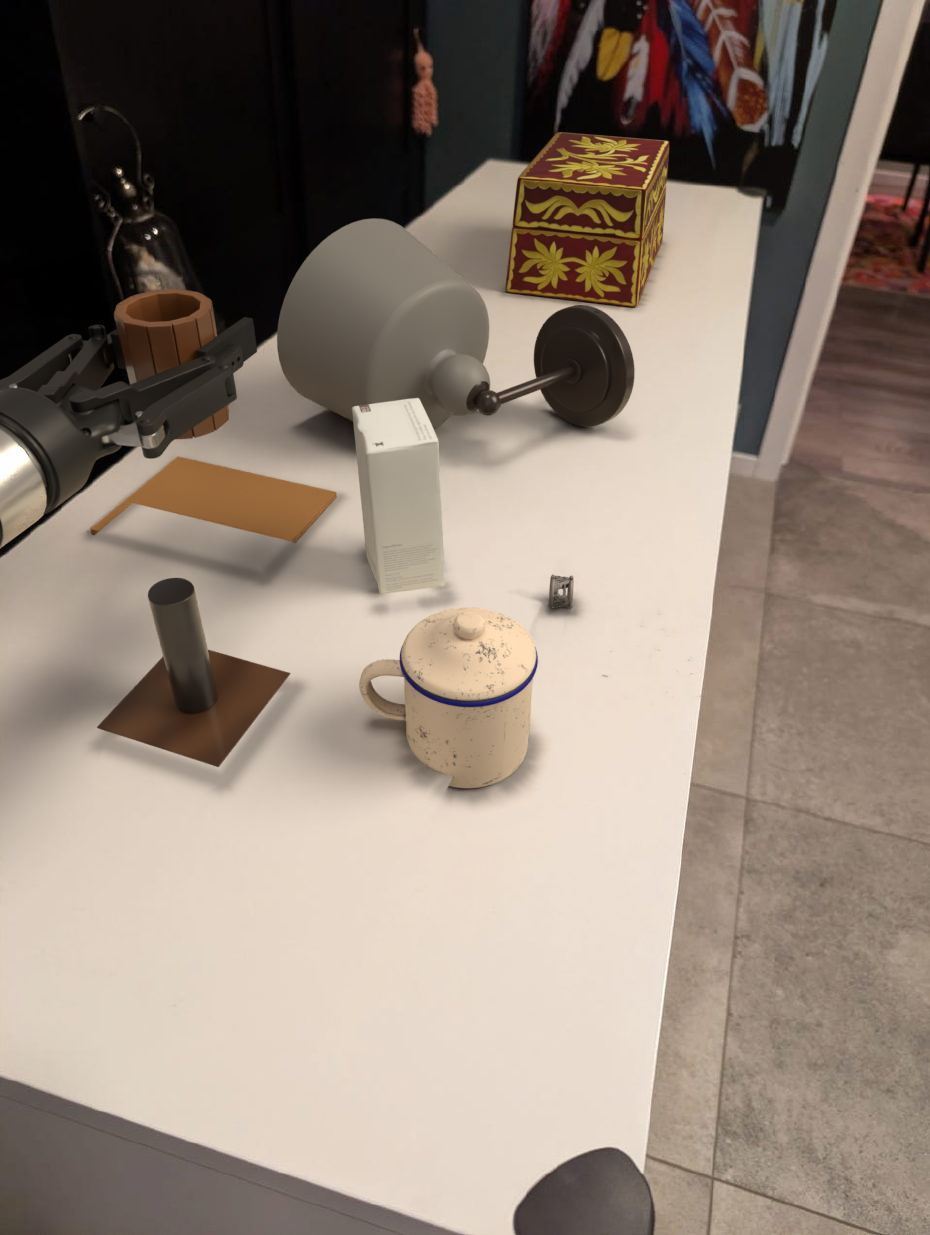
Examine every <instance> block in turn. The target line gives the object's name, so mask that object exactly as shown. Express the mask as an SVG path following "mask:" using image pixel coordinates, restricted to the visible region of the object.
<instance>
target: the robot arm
mask: <svg viewBox="0 0 930 1235" xmlns="http://www.w3.org/2000/svg"><path fill="white" fill-rule="evenodd" d="M87 328H88V333H89V337H90V338H89V339H88V340H83V337H82V335H81V334H78V333H71V334H68V335H66V336H65V337H63V338H61V339H60V340H59V341H57V342H56V343H55V344H53V345H52V346H50V347H49V348H47V349H45V350H44V351H43V352H41V353H40V354H39V355H37V356H36V357H34V358H33V359H31V360H30V361H29V362H27V363H26V364H24V365H23V366H22V367H20V368H19V369H17V370H16V371H14V372H13V373H11V374H10V375H9V376H6V377H4V378H2V379H0V549H2V547H4V546H5V545H6V544H8V543H10V542H11V541H12V540H13V539H16V537H17V536H19V535H20V534H22V533H23V532H25V531H26V530H27V529H28V528H30V527H31V526H33V525H34V524H35V523H37V521H39V520H40V519H41V518H42V517H43V516H44V515H46V514H49V513H51V512H52V511H54V510H55V509H56V508H57V507H58V506H60V505H61V504H63V503H64V502H65V501H66V500H68V499H70V497H72V496H73V495H74V494H76V493H77V492H79V491H80V490H81V489H82V488H83V487H84V486H85V485H86V483H87V481H88V479H89V477H90V474H91V472H92V469H93V468H94V465H95V463H96V461H97V460H99V459H101V458H103V457H105V456H108V455H111V454H113V453H115V452H118V451H119V450H120V449H121V448H122V446H126V447H135V448H136V447H138V448H141V450H142V456H143V457H144V458H145V459H148V460H149V459H150V460H152V459H158V458H160V457H161V456H162V455H163V454H164V452H165V451H166V450H167V448H168V447H169V446H170V444H171V443H172V442H173V441H175V439H176V440H178V439H177V438H178V437H180V436H181V435H183V434H184V433H186V432H187V431H189V430H190V429H192V428H193V427H195V426H196V425H198V424H200V423H201V422H203V421H204V420H206V419H207V418H209V417H210V416H212V415H213V414H215V413H216V412H218V411H219V410H221V409H222V408H224V407H226V406H227V405H229V406H230V404H232V403H233V402H235V401H237V399H238V393H237V386H236V382H235V375H234V374H235V373H236V372H237V371H239V370H240V369H241V368H243V366H244V363H245V362H246V361H248V359H250V358H251V357H253V356H254V355H255V354H256V353H258V347H257V346H258V345H257V340H256V334H255V324H254V319H253V318H251V317H248V316H247V317H246V316H244V317H242V318H241V319H239V320H238V321H236V322H235V323H234V324H232V325H231V326H230V327H228V328H226V329H225V330H223V331H221V333H219V334H217V336H216V337H215V338H214V339H213V340H211V341H210V342H208V343H207V344H205V345H204V346H203V347H201V348H199V349H198V350H196V351H197V357H198V358H197V359H194V360H192V361H189V362H187V363H184V364H182V365H179V366H176V367H174V368H171V369H169V370H166V371H164V372H161V373H158V374H156V375H153V376H151V377H148V378H146V379H143V380H140V381H138V382H135V383H133V384H130V383H129V384H128V383H127V382H125V381H123V380H120V381H117V382H113V383H111V384H108V385H106V386H103V385H104V383H105V382H106V381H107V379H108V378H109V376H110V375H111V373H113V371H114V369H115V364H114V362H116V365H117V368H118V369H123V370H127V369H126V365H125V360H124V356H123V352H122V347H121V343H120V339H119V334H118V330H117V329H115V330H113V331H111V332H109V333H108V334H107V331H106V328H105V325H102V324H93V325H91V326H88V327H87ZM69 360H70V361H69ZM102 386H103V387H102Z"/></svg>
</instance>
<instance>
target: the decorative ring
mask: <svg viewBox="0 0 930 1235" xmlns="http://www.w3.org/2000/svg"><path fill="white" fill-rule="evenodd" d="M574 582H575V580H574V576H573V575H569V576H560V575H555V574H551V576H550V578H549V589H548V590H549V591H548V607H549V608H550V609H552V608H555V609H556V608H567V610H571V609H572V607H573V600H574V599H573V598H574ZM559 590H562V594H560V593H559Z"/></svg>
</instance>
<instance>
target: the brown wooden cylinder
mask: <svg viewBox="0 0 930 1235" xmlns="http://www.w3.org/2000/svg"><path fill="white" fill-rule="evenodd" d="M113 316H114V317H113V318H114V322H115V325H116V330H118V334H119V339H120V343H121V347H122V352H123V356H124V360H125V365H126V369H125V370H126V372H127V377H128V381H129V385H130V384H133V383H135V382H138V381H140V380H143V379H146V378H148V377H151V376H153V375H156V374H158V373H161V372H164V371H166V370H169V369H171V368H174V367H176V366H179V365H182V364H184V363H187V362H189V361H192V360H194V359H197V358H198V357H197V351H196V350H198V349H199V348H201V347H203V346H204V345H205V344H207V343H208V342H210V341H211V340H213V339H214V338H215V337H216V336H218V330H217V325H216V319H215V318H216V317H215V313H214V307H213V300H211V298H209V297H207V296H206V295H204V293H201V292H198V291H193V290H187V289H182V288H180V289H179V288H170V289H169V288H168V289H167V288H165V289H155V290H150V291H145V292H140V293H137V294H134V295H131V296H129V297H127V298H125V299H124V300H122V301H120V302H118V303H117V304H116V307H115V310H114V312H113ZM229 406H230V404H229V405H227V406H226V407H224V408H222V409H221V410H219V411H218V412H216V413H215V414H213V415H212V416H210V417H209V418H207V419H206V420H204V421H203V422H201V423H200V424H198V425H196V426H195V427H193V428H192V429H190V430H189V431H187V432H186V433H184V434H183V435H181V436H180V437H178V438H177V439H175V440H187V439H188V440H189V439H190V440H191V439H196V438H197V439H198V438H200V437H203V436H206V435H209V434H212V433H214V432H216V431H218V430H219V429H220V428H221V427H223V426H224V425H225V424H226V423H228V422H229V420H230V407H229ZM175 440H174V441H175Z"/></svg>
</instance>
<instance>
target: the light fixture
mask: <svg viewBox="0 0 930 1235" xmlns="http://www.w3.org/2000/svg"><path fill="white" fill-rule="evenodd" d="M278 317H279V318H278V322H277V330H276V331H277V334H276V347H277V356H278V361H279V364H280V367H281V371H282V373H283V375H284V377H285V378H286V379H285V380H286V381H287V382H288V383H289V386H290V387H291V388H292V389H293V390H294V391H295V392H296V393H297V394H299V395H300V396H301V397H303V398H305V399H306V400H308V401H310V402H312V403H315V404H317V405H319V406H320V407H323V408H325V409H327V410H329V411H331V412H333V413H335V414H336V415H339V416H341V417H343V418H345V419H347V420H349V421H351V422H353V413H352V407H354V406H361V405H367V404H374V403H382V402H389V401H396V400H404V399H413V398H419V399H420V401H421V403H422V405H423V407H424V409H425V411H426V414H427V416H428V418H429V420H430V422H431V424H432V427H433V429H434V430H435V429H436V428H437V427H439V426H440V425H442V423H444V422H446V421H447V419H448V418H450V417H451V416H452V415H455V416H466V415H469V414H472V413H474V412H476V411H478V412H479V413H480V414H481V415H483V416H487V417H489V416H493V415H495V414H497V413H498V411H499V410H500V408H501V406H502V405H504V404H507V403H509V402H511V401H512V402H513V401H515V400H516V399H520V398H522V397H524V396H527V395H530V394H532V393H536V392H538V391H540V393H541V395H542V396H543V398H544V400H545V402H546V403H547V404H548V406H549V407H550V409H552V410H553V412H554V413H555V414H557V415H558V416H559V417H560V418H561V419H562V420H564V421H566V422H568V423H570V424H572V425H575V426H577V427H584V428H585V427H586V428H590V427H598V426H600V425H602V424H605V423H607V422H609V421H611V420H613V419H614V418H616V417H617V416H618V415H619V414H620V413H622V411H623V410H624V409H625V407H626V406H627V404H628V403H629V400H630V398H631V396H632V393H633V389H634V384H635V375H636V374H635V372H636V371H635V370H636V368H635V360H634V355H633V352H632V351H633V350H632V349H631V345H630V343H629V340H628V338H627V336H626V334H625V332H624V331H623V330H622V328H621V327H620V325H619V324H618V323H617V322H616V320H614V319H613V317H611V316H610V315H609V314H608V313H606V312H605V311H603V310H602V309H599V308H597V307H595V306H592V305H588V304H587V305H586V304H575V305H569V306H568V307H564V308H562V309H560V310H556V311H555V312H553V313H552V314H551V315H550V316H549V317H548V318H546V320H545V321H544V322H543V323H542V325H541V327H540V328H539V330H538V333H537V336H536V339H535V343H534V347H533V369H534V374H535V377H534V378H533V379H530V380H527V381H525V382H521V383H519V384H516V385H513V386H511V387H509V388H506V389H503V390H500V391H498V392H496V391H494V390H491V378H490V374H489V372H488V370H487V368H486V366H485V365H484V362H485V359H486V356H487V352H488V347H489V340H490V318H489V312H488V307H487V306H486V303H485V301H484V299H483V297H482V295H481V294H480V292H478V290H477V289H476V288H475V287H473V285H472V284H470V283H469V282H468V281H466V279H465V278H463V277H462V276H461V275H460V274H459V273H458V272H457V271H455V270H454V269H453V268H452V267H450V266H449V265H448V264H447V263H446V262H445V261H443V260H442V259H441V258H440V257H439V256H438V255H436V254H435V253H434V252H433V251H432V250H430V248H428V247H427V245H425V244H424V243H422V242H421V241H420V240H419V239H417V238H416V237H415V236H414V235H413V234H412V233H410V231H408V230H407V229H405V227H403V226H402V225H400V224H398V223H396V222H394V221H393V220H389V219H385V218H375V217H374V218H365V219H364V218H363V219H360V220H357V221H354V222H351V223H349V224H346V225H345V226H342V227H340V228H339V229H337V230H336V231H334V232H332V233H330V235H328V236H327V237H326V238H325V239H323V240H322V241H321V242H320V243H319V244H318V245H317V246H316V247H315V248H314V249H313V250H312V251H311V252H310V254H309V255H308V256H307V257H306V258H305V260H304V261H303V262H302V264H301V265H300V267H299V269H298V270H297V271H296V272H295V275H294V277H293V278H292V281H291V283H290V285H289V287H288V289H287V291H286V293H285V296H284V299H283V303H282V305H281V308H280V313H279V316H278Z"/></svg>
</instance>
